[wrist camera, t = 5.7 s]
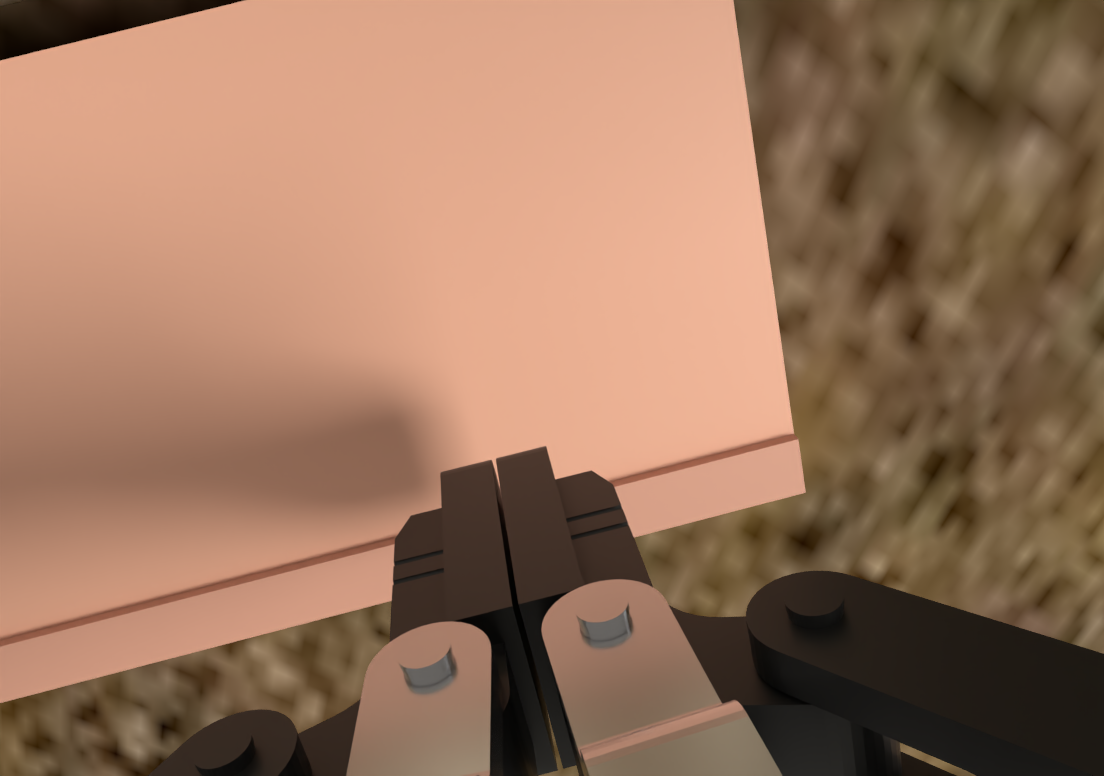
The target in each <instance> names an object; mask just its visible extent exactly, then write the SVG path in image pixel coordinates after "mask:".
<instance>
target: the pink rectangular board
mask: <svg viewBox="0 0 1104 776" xmlns="http://www.w3.org/2000/svg"><path fill="white" fill-rule="evenodd" d="M543 446H546V447H547V451H548V455H549V458H550V462H551V466H552V469H553V473H554V477H555V479H559V478H563V477H567V476H571V475H575V474H579V473H583V472H587V471H591V470H592V471H593V472H595V473H596V474H598V475H599V476H601V477H603V478H604V479H606V480H607V481H609V482H610V483H612V484H613V485H614V488H615V490H616V493H617V495H618V498H619V501H620V503H621V507H622V509H623V511H624V514H625V516H626V519H627V521H628V525H629V527H630V529H631V532H632V534H633V537H637V536H641V535H645V534H649V533H652V532H656V531H660V530H664V529H668V528H672V527H675V526H679V525H683V524H687V523H691V522H695V521H698V520H702V519H706V518H710V517H714V516H718V515H721V514H725V513H729V512H733V511H737V510H740V509H744V508H748V507H752V506H756V505H760V504H763V503H767V502H771V501H775V500H779V499H783V498H786V497H790V496H794V495H798V494H802V493H806V492H805V485H804V477H803V470H802V463H801V456H800V448H799V441H798V438H797V437H796V436H795V435H794V431H793V424H792V417H791V410H790V403H789V395H788V388H787V381H786V374H785V367H784V360H783V352H782V345H781V338H780V331H779V324H778V317H777V310H776V302H775V295H774V288H773V281H772V274H771V267H770V260H769V252H768V245H767V238H766V231H765V224H764V217H763V209H762V202H761V195H760V188H759V181H758V174H757V167H756V159H755V152H754V145H753V138H752V131H751V124H750V117H749V109H748V102H747V95H746V88H745V81H744V74H743V66H742V59H741V52H740V45H739V38H738V31H737V24H736V16H735V9H734V2H733V0H245V1H241V2H237V3H233V4H228V5H224V6H220V7H216V8H212V9H208V10H204V11H200V12H196V13H192V14H188V15H184V16H180V17H176V18H171V19H167V20H163V21H159V22H155V23H151V24H147V25H143V26H139V27H135V28H131V29H127V30H123V31H119V32H115V33H110V34H106V35H102V36H98V37H94V38H90V39H86V40H82V41H78V42H74V43H70V44H66V45H62V46H58V47H53V48H49V49H45V50H41V51H37V52H33V53H29V54H25V55H21V56H17V57H13V58H9V59H5V60H1V61H0V703H2V702H6V701H10V700H13V699H17V698H21V697H25V696H29V695H33V694H36V693H40V692H44V691H48V690H52V689H56V688H59V687H63V686H67V685H71V684H75V683H78V682H82V681H86V680H90V679H94V678H98V677H101V676H105V675H109V674H113V673H117V672H121V671H124V670H128V669H132V668H136V667H140V666H144V665H147V664H151V663H155V662H159V661H163V660H167V659H170V658H174V657H178V656H182V655H186V654H189V653H193V652H197V651H201V650H205V649H209V648H212V647H216V646H220V645H224V644H228V643H232V642H235V641H239V640H243V639H247V638H251V637H255V636H258V635H262V634H266V633H270V632H274V631H277V630H281V629H285V628H289V627H293V626H297V625H300V624H304V623H308V622H312V621H316V620H320V619H323V618H327V617H331V616H335V615H339V614H343V613H346V612H350V611H354V610H358V609H362V608H365V607H369V606H373V605H377V604H381V603H385V602H388V601H392V585H394V584H393V566H395V565H394V545H395V538H396V537H397V535H398V534H399V532H400V531H401V529H402V528H403V526H404V525H405V523H406V522H407V520H408V519H409V517H410V516H411V515H415V514H419V513H423V512H427V511H431V510H435V509H439V508H442V506H441V479H440V473H441V472H443V471H447V470H451V469H455V468H459V467H463V466H467V465H471V464H475V463H479V462H483V461H488V460H492V462H493V465H494V468H495V471H496V475H497V479H498V482H499V477H498V470H497V464H496V458H499V457H503V456H507V455H511V454H515V453H519V452H523V451H527V450H531V449H535V448H539V447H543ZM499 486H500V483H499Z"/></svg>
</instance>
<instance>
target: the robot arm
mask: <svg viewBox="0 0 1104 776" xmlns="http://www.w3.org/2000/svg"><path fill="white" fill-rule="evenodd" d="M496 464H497V470H498V477H499V482H498V479H497V475H496V471H495V468H494V465H493V462H492V460H488V461H483V462H479V463H475V464H471V465H467V466H463V467H459V468H455V469H451V470H447V471H443V472H441V473H440V479H441V506H442V508H439V509H435V510H431V511H427V512H423V513H419V514H415V515H411V516H410V517H409V519H408V520H407V522H406V523H405V525H404V526H403V528H402V529H401V531H400V532H399V534H398V535H397V537H396V538H395V545H394V565H395V566H393V584H394V585H392V606H391V626H390V643H388V644H387V645H386V646H385V647H383V648H382V649H381V650H380V651H379V652H378V653H377V655H376V656H375V657H374V658H373V660H372V661H371V663H370V665H369V667H368V669H367V672H366V675H365V680H364V685H363V690H362V695H361V699H360V700H359V701H358V702H356V703H355V704H354V705H352V706H351V707H349V708H348V709H346V710H345V711H343V712H341V713H339V714H337V715H335V716H334V717H332V718H330V719H328V720H326V721H323V722H321V723H319V724H317V725H315V726H313V727H311V728H309V729H307V730H305V731H303V732H301V733H299V734H298V733H297V730H296V728H295V725H294V724H293V723H292V721H291V720H290V719H289V718H288V717H287V716H285V715H284V714H281V713H279V712H276V711H271V710H251V711H245V712H241V713H237V714H234V715H231V716H228V717H225V718H223V719H220V720H218V721H216V722H214V723H212V724H210V725H209V726H207V727H205V728H203V729H202V730H200V731H199V732H197V733H196V734H194V735H193V736H192V737H191V738H189V739H188V740H187V741H186V742H185V743H183V744H182V745H181V746H180V747H179V748H178V749H177V750H176V751H175V752H174V753H172V754H171V755H170V756H169V757H168V758H167V759H166V760H165V761H164V762H163V763H161V764H160V765H159V766H158V767H157V768H156V769H155V770H154V771H153V772H151V773H150V774H149V775H148V776H538V775H542V774H545V773H549V772H553V771H557V770H558V769H557V763H556V758H555V752H554V746H553V740H552V735H551V729H550V723H549V718H550V721H551V725H552V729H553V732H554V736H555V740H556V743H557V747H558V751H559V754H560V758H561V762H562V765H563V769H564V768H567V767H571V766H575V765H577V769H578V773H579V776H956V775H954V774H951V773H949V772H947V771H944V770H942V769H940V768H937V767H935V766H933V765H931V764H928V763H926V762H924V761H921V760H919V759H917V758H914V757H912V756H910V755H907V754H905V753H903V752H900V743H903V744H905V745H907V746H910V747H912V748H915V749H917V750H919V751H922V752H924V753H926V754H929V755H931V756H933V757H936V758H938V759H940V760H943V761H945V762H947V763H950V764H952V765H955V766H957V767H959V768H962V769H964V770H966V771H968V772H970V773H972V774H974V775H976V776H1104V654H1102V653H1099V652H1096V651H1093V650H1090V649H1086V648H1083V647H1080V646H1077V645H1073V644H1070V643H1067V642H1064V641H1061V640H1057V639H1054V638H1051V637H1048V636H1044V635H1041V634H1038V633H1035V632H1031V631H1028V630H1025V629H1022V628H1019V627H1015V626H1012V625H1009V624H1006V623H1002V622H999V621H996V620H993V619H990V618H986V617H983V616H980V615H977V614H973V613H970V612H967V611H964V610H960V609H957V608H954V607H951V606H948V605H944V604H941V603H938V602H935V601H931V600H928V599H925V598H922V597H918V596H915V595H912V594H909V593H906V592H902V591H899V590H896V589H893V588H889V587H886V586H883V585H880V584H877V583H873V582H870V581H867V580H864V579H860V578H857V577H854V576H851V575H847V574H843V573H838V572H830V571H808V572H800V573H795V574H791V575H787V576H784V577H781V578H779V579H777V580H774V581H772V582H771V583H769V584H767V585H765V586H764V587H763V588H762V589H760V590H759V591H758V592H757V593H756V594H755V595H754V596H753V598H752V599H751V601H750V603H749V604H748V608H747V611H746V617H705V616H697V615H693V614H689V613H685V612H682V611H680V610H677V609H675V608H673V607H671V606H669V605H668V603H667V602H666V600H665V598H664V597H663V596H662V594H661V593H660V592H658V591H657V590H656V589H655V588H653V586H652V583H651V581H650V578H649V576H648V573H647V571H646V568H645V565H644V563H643V560H642V558H641V555H640V552H639V550H638V547H637V545H636V542H635V539H634V537H633V534H632V532H631V529H630V527H629V525H628V521H627V519H626V516H625V514H624V511H623V509H622V507H621V503H620V501H619V498H618V495H617V493H616V490H615V488H614V485H613V484H612V483H610V482H609V481H607V480H606V479H604V478H603V477H601V476H599V475H598V474H596V473H595V472H593V471H592V470H591V471H587V472H583V473H579V474H575V475H571V476H567V477H563V478H559V479H555V477H554V473H553V469H552V466H551V462H550V458H549V455H548V451H547V447H546V446H543V447H539V448H535V449H531V450H527V451H523V452H519V453H515V454H511V455H507V456H503V457H499V458H496ZM499 483H500V486H499ZM547 710H548V712H547ZM548 714H549V717H548Z"/></svg>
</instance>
